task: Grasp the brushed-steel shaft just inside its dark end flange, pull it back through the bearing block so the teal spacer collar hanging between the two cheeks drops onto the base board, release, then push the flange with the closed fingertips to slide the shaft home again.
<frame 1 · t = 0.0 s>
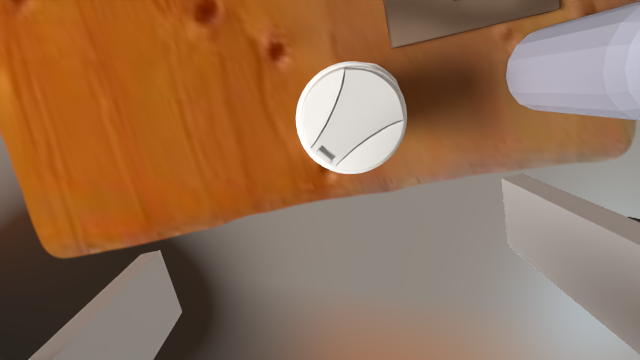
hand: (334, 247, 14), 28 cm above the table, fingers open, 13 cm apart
coffee cup: (340, 108, 40), on the table
soap bottle: (540, 73, 39), on the table
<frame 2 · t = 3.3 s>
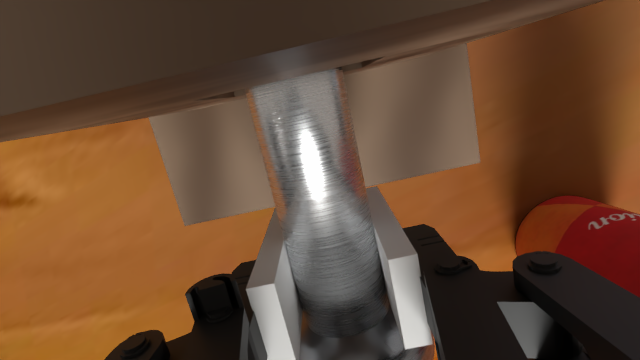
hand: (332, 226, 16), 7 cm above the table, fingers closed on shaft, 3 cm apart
coffee cup: (557, 236, 24), on the table
bearing block: (297, 49, 21), on the table
shaft: (297, 99, 11), point 11 cm above the table, slide at 0.0 cm, touching gripper, spacer
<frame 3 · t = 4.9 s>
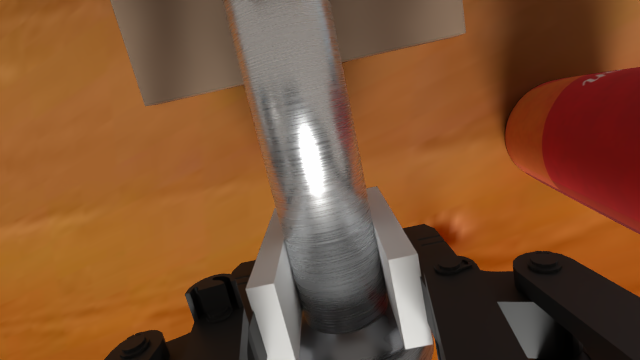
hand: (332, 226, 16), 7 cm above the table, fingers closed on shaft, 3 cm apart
coffee cup: (550, 129, 22), on the table
shaft: (297, 94, 11), point 11 cm above the table, slide at 7.1 cm, touching gripper
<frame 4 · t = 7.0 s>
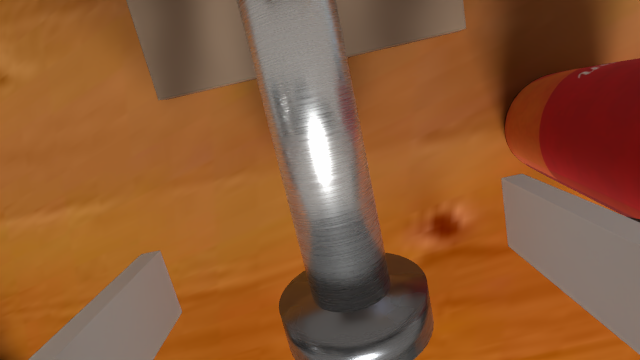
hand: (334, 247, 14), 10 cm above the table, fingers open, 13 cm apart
coffee cup: (549, 121, 23), on the table
shaft: (306, 90, 12), point 11 cm above the table, slide at 7.3 cm
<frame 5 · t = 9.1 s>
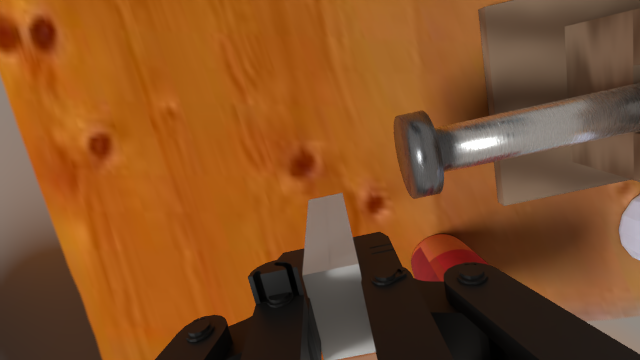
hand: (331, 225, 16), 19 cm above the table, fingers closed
coffee cup: (439, 258, 38), on the table
bearing block: (581, 91, 33), on the table
shaft: (541, 127, 24), point 11 cm above the table, slide at 7.3 cm
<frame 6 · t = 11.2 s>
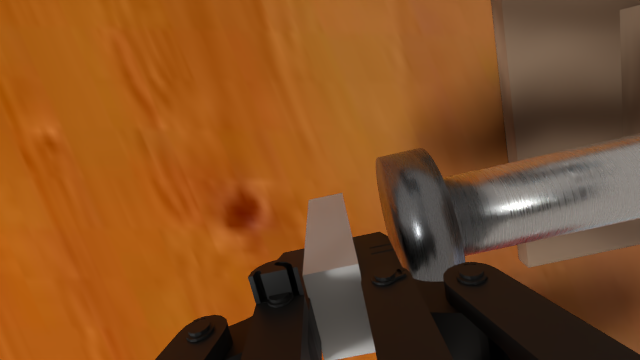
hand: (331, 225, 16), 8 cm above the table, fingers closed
bearing block: (639, 105, 23), on the table
shaft: (635, 176, 13), point 11 cm above the table, slide at 6.4 cm, touching gripper
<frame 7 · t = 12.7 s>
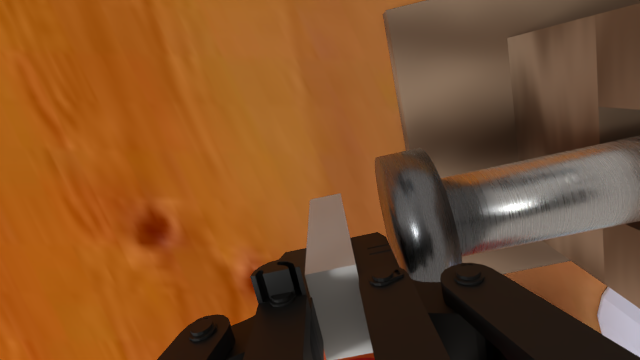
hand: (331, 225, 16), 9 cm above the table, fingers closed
bearing block: (538, 130, 23), on the table
shaft: (636, 178, 13), point 11 cm above the table, slide at -0.1 cm, touching gripper
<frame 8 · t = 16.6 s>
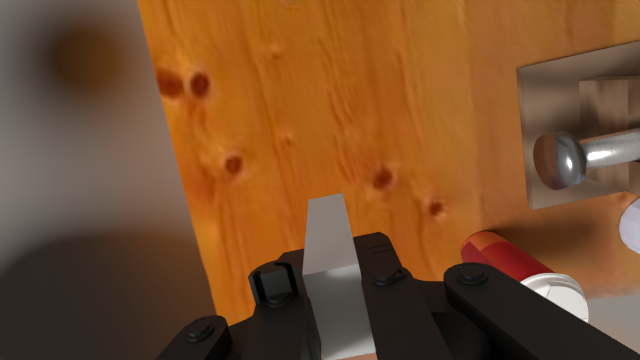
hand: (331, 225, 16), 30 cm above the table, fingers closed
coffee cup: (482, 250, 49), on the table
bearing block: (590, 126, 45), on the table
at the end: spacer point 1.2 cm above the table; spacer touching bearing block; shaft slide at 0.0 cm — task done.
